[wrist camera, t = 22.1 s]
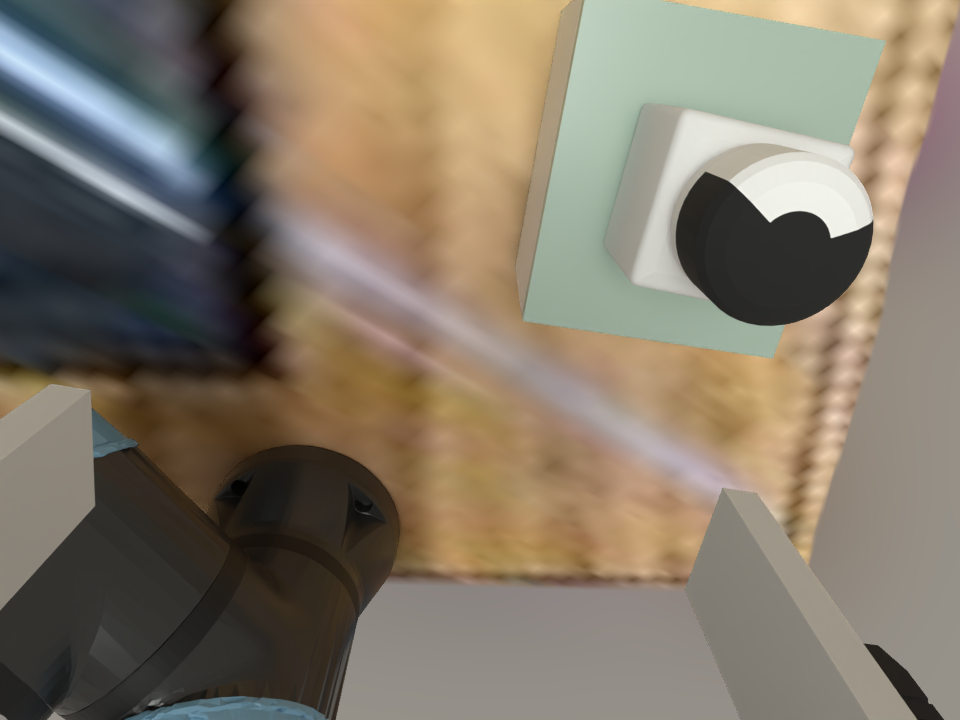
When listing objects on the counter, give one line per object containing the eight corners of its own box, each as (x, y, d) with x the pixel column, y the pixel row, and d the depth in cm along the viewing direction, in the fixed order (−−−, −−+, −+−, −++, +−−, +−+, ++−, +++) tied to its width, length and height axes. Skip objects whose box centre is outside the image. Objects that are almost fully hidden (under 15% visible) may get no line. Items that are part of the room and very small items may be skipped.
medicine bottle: (732, 274, 35) (848, 365, 24) (600, 246, 34) (656, 326, 23) (784, 133, 32) (942, 162, 21) (641, 100, 32) (728, 113, 21)
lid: (765, 351, 38) (772, 358, 37) (521, 315, 37) (522, 321, 36) (874, 42, 32) (886, 40, 31) (584, -10, 31) (587, -14, 30)
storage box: (711, 298, 47) (765, 351, 38) (514, 267, 46) (521, 314, 37) (786, 50, 41) (874, 42, 32) (561, 10, 40) (583, -10, 31)
